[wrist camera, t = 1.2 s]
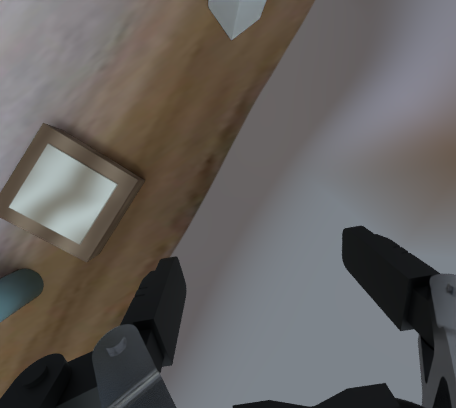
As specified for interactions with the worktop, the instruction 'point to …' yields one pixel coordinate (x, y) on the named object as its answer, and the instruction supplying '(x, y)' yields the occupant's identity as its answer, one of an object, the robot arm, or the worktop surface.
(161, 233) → the worktop surface
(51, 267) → the worktop surface
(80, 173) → the plinth
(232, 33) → the milk
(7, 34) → the worktop surface
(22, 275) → the blue capped bottle
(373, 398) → the robot arm
